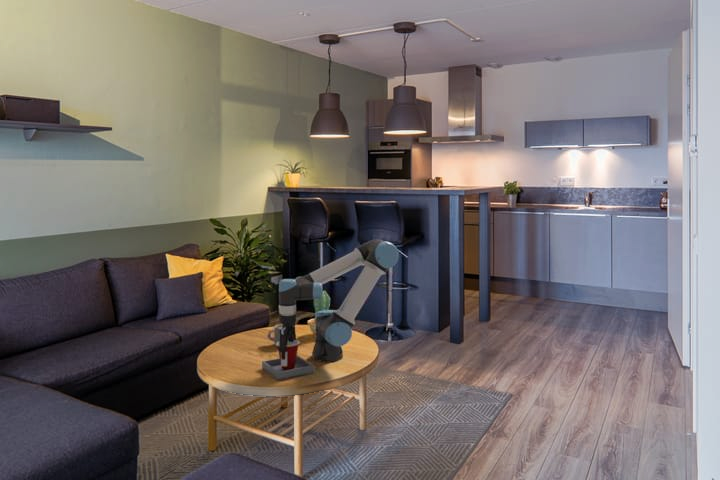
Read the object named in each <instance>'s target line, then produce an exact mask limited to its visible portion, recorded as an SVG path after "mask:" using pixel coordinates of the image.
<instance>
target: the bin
mask: <svg viewBox="0 0 720 480" xmlns="http://www.w3.org/2000/svg"><path fill="white" fill-rule="evenodd" d="M261 368H262V370H263V371H265V372H266V373H267V374H268V375H270V376H271V377H273V378H274V379H275V380H276V381H283V380H287V379H289V380H290V379H294V378H299V377H304V376H307V375H313V374H315V365H314V364H313V363H312V362H309V361H308V360H305V359H304V358H303V357H301V356H299V355H298V354H297V357H296V362H295V367H294V369H291V370H284V369H282V367H281V362H280V357H279V358H273V359H268V360H263V361H261Z"/></svg>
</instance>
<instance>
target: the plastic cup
mask: <svg viewBox="0 0 720 480" xmlns="http://www.w3.org/2000/svg"><path fill="white" fill-rule="evenodd" d="M299 345H300V341H299V340H297V339H296V340H294V342H289V341H288V343H287V346H286V347H287V350H286V352H287V366H281V367H282V369H284V370H291V369H294V367H295V362H296V357H297V355H298V349H299ZM276 346H277V352H278V355H279V358H280V362H281V352H279V342H277V343H276ZM276 346H275V347H276Z"/></svg>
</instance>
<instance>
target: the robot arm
mask: <svg viewBox="0 0 720 480" xmlns="http://www.w3.org/2000/svg"><path fill="white" fill-rule="evenodd" d="M399 257H400V253H399V250H398V248H397V246H395V245H394V244H393V243H392V242H390V241H385V240H382V239H379V238H376V239H371V240H369V241H367V242H364V243H363V244H360V245H359V246H357V247H355V248H354V250H353V251H352V252H349V253H348V254H346V255H344V256H342V257H340V258H337V259H336V260H334V261H331V262H329V263H327V264H326V265H323V266H322V267H320V268H318V269H316V270H313V271H312V272H309V273H308V274H306V275H304V276H297V277H296V278H283V279H280V280H279V282H278V303H279V304H278V310H279V311H278V313H279V314H278V322H279V324H283V327H282V329H280V341H279V351H278V353H279V352H281V366H287V352H286V350H287V347H286V346H287V343H288V341H289V342H294V340H297V334H296V323H297V301H307V300H313V301H314V300H315V299H320V298H321V297H322V293H323V291H324V290H323V285H324V284H326V283H328V282H330V281H333V280H334V279H336V278H338V277H341V276H342V275H344V274H346V273H348V272H350V271H352V270H354V269H356V268H358V267H360V266H363V269H362V270H361V272H360V274H359V275H358V277H357V279H356V280H355V282H354V283H353V285H352V287H351V289H350V290H349V292H348V294H347V295H346V297H345V298H344V300H343V302H342V304H341V305H340V306H339V307H338V309H328V310H323V311H318V312H316V317H315V316H314V319H316V337H315V342H314V345H313V350H312V351H311V358H312V359H313V360H314V361H318V362H326V363H327V362H336V361H340V360H341V359H343V358H344V351H343V348H342V346H345V345H347V344H348V343H349V342H350V341H351V339H352V337H353V331H352V330H353V328H354V327H355V325H356V322H355V318H356V317H357V315H358V314H359V312H360V310H361V309H362V307H363V305H364V304H365V302H366V301H367V299H368V298H369V296H370V294H371V292H372V291H373V289H374V287H375V285H376V284H377V282H378V281H379V279H380V277H381V276H383V275H386V274H387V272H388V271H389V270H390V268H392V267H394V266H395V265H396V264H397V263H398V261H399ZM342 357H343V358H342ZM339 359H340V360H339Z"/></svg>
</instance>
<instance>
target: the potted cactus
mask: <svg viewBox="0 0 720 480" xmlns="http://www.w3.org/2000/svg"><path fill="white" fill-rule="evenodd" d="M313 307H314V318H310V319H309V320H307V322H306V323H307V325H308V326H309V329H310V331H311V332H312V334H313V337H315V338H316V319H315V317H316V312H318V311H323V310H330V307H331V297H330V296H329V294H328V292H327V291H326V290H323V293H322V297H321V298H320V299H315V300H314V299H313Z"/></svg>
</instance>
